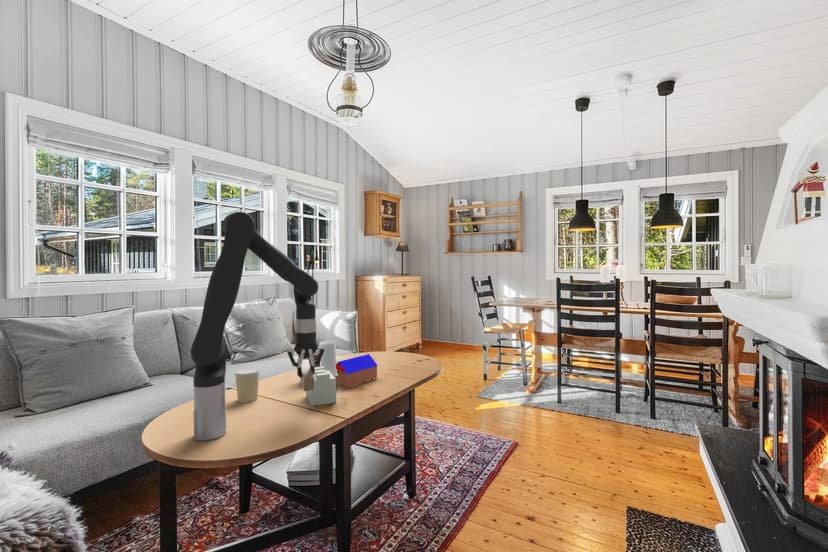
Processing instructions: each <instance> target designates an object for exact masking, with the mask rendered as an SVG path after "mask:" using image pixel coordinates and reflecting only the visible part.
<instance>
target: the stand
mask: <svg viewBox="0 0 828 552" xmlns="http://www.w3.org/2000/svg"><path fill="white" fill-rule="evenodd" d="M313 376H314V390H310V391H305V397H306V399H307V401H308V402H310V403H309V405H310V407H315V405H317V406H323V404H324V405H331V404H336V403H337V385H336V378H335V377H334V376H333V374H332V373H331V370H326V369H325V366H321V367H314V375H313Z"/></svg>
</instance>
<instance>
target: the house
mask: <svg viewBox="0 0 828 552" xmlns="http://www.w3.org/2000/svg"><path fill="white" fill-rule="evenodd" d="M335 365H336V369H337V374H338V376H337V377H335V378H336V386H338V385H339V387H342V386H343V387H342V388H346V387H349V388H351V387H350V386H352V387H354V386H353V385H355V386H357V385H356V384H358V385H360V384H359V383H361V384H363V383H362V382H365V381H367V380H370V379H373V378H376V377H377V378H378V364H377V362H376V361H375V360H374V358H373V357H372V356H371V355H370V353H367V354H363V355H360V356H356V357H352V358H347V359H344V360H339V361H337V362H336V364H335ZM365 383H366V382H365Z"/></svg>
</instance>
